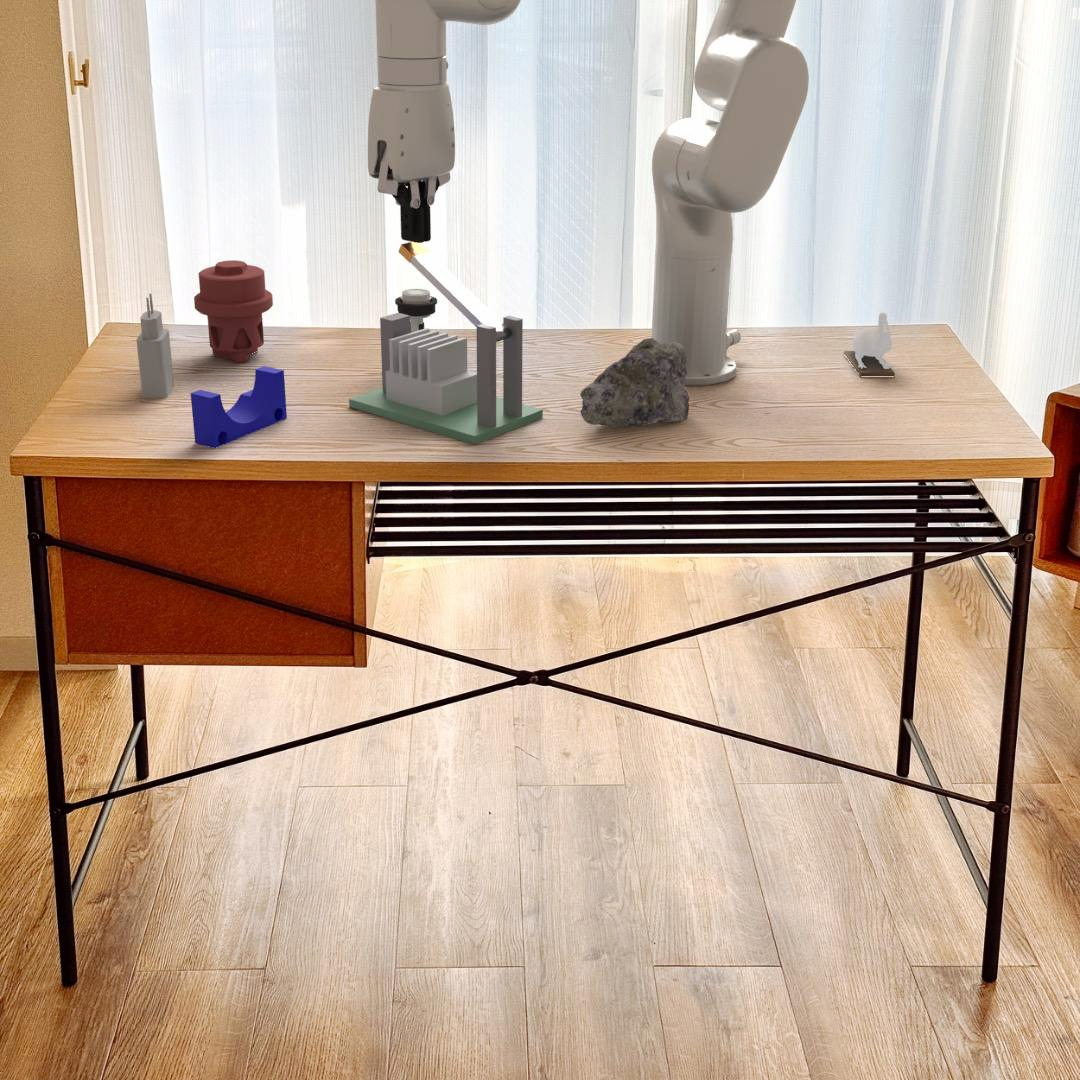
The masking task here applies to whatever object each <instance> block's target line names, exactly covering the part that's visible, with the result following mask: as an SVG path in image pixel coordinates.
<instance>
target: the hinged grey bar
mask: <svg viewBox="0 0 1080 1080" xmlns="http://www.w3.org/2000/svg"><path fill="white" fill-rule="evenodd" d="M397 253H399V255H401V256H402V257H403V258H404V259H405V260H406V261H407V262H408V263H409V264H411V265H412V266H413V267H414V268H415V269H416V270H417V271H418V272H419V273H420V274H421V275H422V276H423V277H424V278H425V279H426V280H428V282H430V283H431V285H433V287H435V288H436V290H437V291H438V292H439V293H440V294H442V295H443V297H445V298H446V299H447V300H448V302H449V303H451V304H452V305H453V306H454V307H455V308H456V309H457V310H458V312H460V313H461V314H462V315H463V316H464V317H465V318H467V320H468V321H469V322H470V323H471V324H472V325H473V326H474V327H476V326H478V325H481V324H484V325H489V326H493V327H496V343H498V342H502V341H503V340H504V339H507V338H510V337H511V336H512V331H511V330H510V328H507V327H506V326H505V325H504V324H503V321H500V319H499V318H498V317H497V316H495V315H494V314H493V313H492V311H491V310H490V309H488V307H486V306H485V305H484V304H483V303H482V301H480V299H478V298H477V297H476V296H475V294H473V293H472V292H471V291H470V290H469V289H467V287H465V285H463V284H462V282H460V281H459V279H457V278H456V277H455V276H454V275H453V274H452V272H450V271H449V270H448V269H447V267H445V266H444V265H443V264H442V263H441V261H439V260H438V259H437V258H436V257H435V256H434V255H433V254H432V253H430V251H429V250H428V248H426V247H425V246H424V245H423V243H415V242H410V241H408V242H405V243H401V244H400V247H399V250H398V252H397Z"/></svg>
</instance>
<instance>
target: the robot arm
mask: <svg viewBox="0 0 1080 1080" xmlns="http://www.w3.org/2000/svg"><path fill="white" fill-rule="evenodd" d="M796 1H797V0H720V3H719V5H718V8H717V11H716V13H715V16H714V18H713V20H712V24H711V26H710V28H709V31H708V34H707V36H706V40H705V42H704V45H703V47H702V49H701V52H700V55H699V58H698V60H697V63H696V65H695V69H694V70H695V71H694V73H693V74H694V75H693V76H694V77H693V85H694V89H695V92H696V94H697V96H698V97H699V99H700V101H701V100H702V101H703V103H705V104H706V105H707V106H709V107H711V108H712V109H715V110H717V111H721V112H722V115H721V118H720V119H719V121H715V120H711V119H708V118H704V117H686V118H682V119H679V120H676V121H674V122H672V123H671V124H670V125H669V126H667V127H666V128H665V129H664V130H663V132H661V134H660V136H659V137H658V138H657V140H656V142H655V144H654V149H653V151H652V152H653V153H652V159H651V171H652V172H651V175H652V182H653V185H652V186H653V192H654V202H655V226H656V227H655V251H654V252H655V253H654V268H653V269H654V270H653V293H652V294H653V295H652V317H651V318H652V319H651V338H653V339H654V340H655V341H657V342H658V343H660V344H665V343H671V342H676V343H679V344H681V345H682V346H683V347H684V349H685V351H686V354H687V362H686V370H687V375H686V377H685V386H706V385H714V384H715V385H716V384H719V383H723V382H726V381H729V380H731V379H733V378H734V377H735V376H736V373H737V363H736V362H735V360H733V359H732V358H730V357H729V356H727V354H728V353H727V350H728V349H729V348H730V347H732V346H734V345H737V344H738V343H740V342H741V340H742V339H741V338H742V337H741V333H740V331H739V330H737V329H731V330H730V329H729V330H728V328H727V327H728V313H729V312H728V311H729V297H730V283H731V280H730V279H731V268H732V267H731V265H732V253H733V243H734V242H733V240H734V239H733V238H734V237H733V236H734V235H733V230H734V229H733V217H732V214H736V213H742V212H745V211H748V210H750V209H751V208H753V207H754V206H756V205H757V204H758V203H759V202H760V201H761V200H763V198H764V197H765V195H767V193H768V192H769V190H770V188H771V186H772V184H773V183H774V180H775V178H776V175H778V174H777V173H778V171H779V168H780V166H781V164H782V161H783V159H784V157H785V154H786V152H787V150H788V147H789V144H790V142H791V140H792V137H793V134H794V132H795V130H796V127H797V125H798V122H799V119H800V117H801V115H802V112H803V110H804V107H805V104H806V100H807V96H808V91H809V84H810V83H809V82H810V81H809V79H810V78H809V68H808V64H807V61H806V58H805V56H804V54H803V52H802V51H801V49H799V47H798V46H797V45H796V44H795V43H793V42H792V41H790V40H788V39H786V38H785V35H786V33H787V32H786V31H787V29H788V26H789V24H790V20H791V17H792V15H793V11H794V8H795V5H796V3H797V2H796ZM520 3H521V0H375V24H376V25H375V28H376V29H375V30H376V56H377V57H376V60H377V62H376V63H377V65H376V66H377V87H373V88H372V93H371V98H370V99H371V100H370V107H369V116H368V126H367V127H368V128H367V129H368V130H367V170H368V174H369V175H368V176H370V177H371V178H373V179H377V180H378V182H377V192H378V193H381V194H384V195H385V194H386V195H391V196H392V197H393V198H394V200H395V204H396V205H397V206H399V207H400V211H399V213H400V216H399V217H400V238H401V240H402V241H407V242H415V243H421V244H423V243H424V242H425V243H426V242H430V241H431V239H432V236H431V233H432V232H431V231H432V230H431V229H432V228H431V226H432V225H431V224H432V223H431V206H433V205H434V203H435V198H436V193H437V191H438V190H439V188H440V187H442V186H443V185H445V184H447V183H449V182H450V180H451V171H452V170H453V169H454V166H455V163H456V162H455V161H456V133H455V121H454V119H455V118H454V112H453V111H454V110H453V102H452V98H451V97H452V96H451V92H450V87H449V84H447V82H448V80H447V76H448V75H447V72H448V71H447V70H448V69H449V63H448V60H447V22H456V23H465V24H472V25H473V24H474V25H480V26H491V25H496V24H498V23H501V22H503V21H505V20H507V19H508V18H509V17H511V15H513V14H514V12H515V11H516V10H517V8H519V7H518V6H519V5H520Z"/></svg>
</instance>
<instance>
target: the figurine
mask: <svg viewBox="0 0 1080 1080" xmlns="http://www.w3.org/2000/svg"><path fill="white" fill-rule="evenodd" d="M877 321H878V322H877V323H878V326H870V327H865V328H862V329H860V330H858V331H857V332H856V333H855V334H854V335H853V336H854V337H853V339H852V350H844V351H843V355H844V354H845V355H846V356H847V358H848V359H849V361H850V362H851V364H852V365H853V366H854V368H855V369H856V371H857V372H858V373H859V375H860V376H894V377H895V376H896V375H895V374H896V372H895V370H893V368H892V366H891V365H890V364H888V363H887V361H886V360H885V359H884V358H883V356H884V355H885V354H886V353H888V352H890V351H891V349H892V337H891V334H890V333H891V331H890V327H889V322H888V315H887V313H886V312H880V313H879V315H878V320H877ZM884 326H885V328H886V329H885V328H884ZM856 371H855V372H856ZM859 375H858V376H859Z"/></svg>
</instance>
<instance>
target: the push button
mask: <svg viewBox="0 0 1080 1080" xmlns="http://www.w3.org/2000/svg"><path fill="white" fill-rule="evenodd" d="M394 304H395V305H396V306H397V313H401V314H405V315H409V316H410V333H412V332H415V331H419V330H422V329H425V322H424V319H427V318H429V317H431V315H433V314H435V313H436V305H437V304H438V299H437V298H436V297H435V296H432V295H431V292H430V290H427V289H423V288H411V289H405V290H402V292H401V296H399V297H397V298H395V299H394Z"/></svg>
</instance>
